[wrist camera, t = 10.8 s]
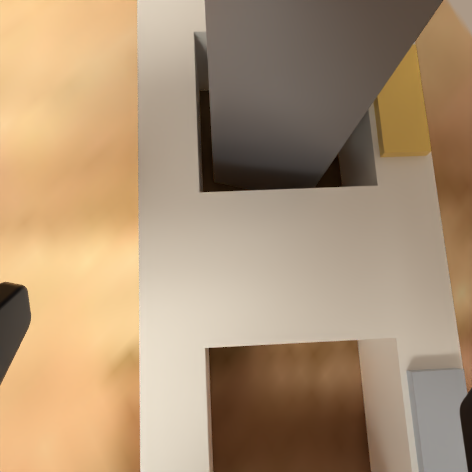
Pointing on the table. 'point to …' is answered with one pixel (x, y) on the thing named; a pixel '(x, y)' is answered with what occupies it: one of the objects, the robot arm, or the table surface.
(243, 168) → the plug
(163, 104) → the socket block
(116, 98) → the table surface
